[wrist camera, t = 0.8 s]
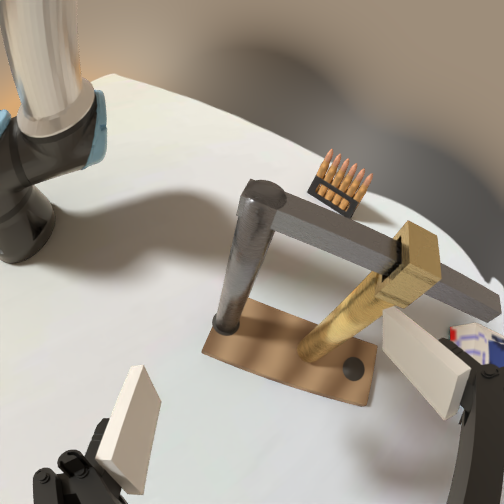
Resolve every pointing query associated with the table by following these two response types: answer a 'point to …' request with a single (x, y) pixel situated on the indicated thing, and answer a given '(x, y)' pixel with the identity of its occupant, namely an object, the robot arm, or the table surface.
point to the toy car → (479, 343)
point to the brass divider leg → (378, 293)
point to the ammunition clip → (339, 186)
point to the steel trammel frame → (328, 239)
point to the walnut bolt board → (293, 354)
